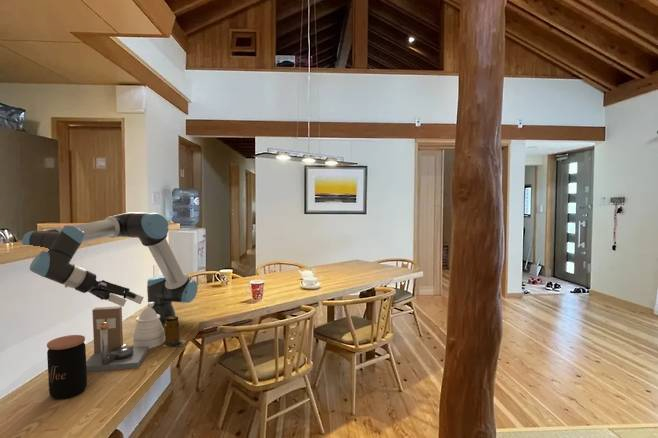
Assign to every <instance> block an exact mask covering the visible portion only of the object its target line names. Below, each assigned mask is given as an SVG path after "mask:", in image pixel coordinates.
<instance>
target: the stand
mask: <svg viewBox="0 0 658 438" xmlns="http://www.w3.org/2000/svg"><path fill="white" fill-rule="evenodd" d="M122 307H123V306H120V305H118V306H117V305H116V306H104V307H94V308H93V309H92V331H93V333H92V334H93V354H92V355H90V357H89V358H88V359H86V369H87V373H88V372H89V373H90V372H102V371H112V370H124V369H125V370H126V369H137V368H140V366H141V364H142V362H143V361H144V359H145V358H146V356H147V354H148V353H149V351H150V350H149V349H150V348H149V346H144V347H133V355H132V356H130V357H128V358H125V359H120V360H112V361H110V362H109V364H107V365H102V364H101V340H100V329H99V325H100V323H102V322H106V323H108V328H107V332H108V356H109V355H111V350H112V349H113V348H116V347H119V346H123V344H124V336H123V335H124V334H123V309H122Z"/></svg>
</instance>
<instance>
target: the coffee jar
mask: <svg viewBox="0 0 658 438" xmlns="http://www.w3.org/2000/svg"><path fill="white" fill-rule="evenodd" d="M85 341H86V337H85V335H81V334H71V335H70V334H69V335H65V336H59V337H56V338H53V339H51V340H50V341H48V342H47V344H46V348H47V351H46V353H47V354H46V356H47V358H46V359H47V376H48V392H49V393H48V394H49V395H50V397H51V398H52V399H54V400H58V401H61V400H68V399H71V398H74V397H77V396H79V395H81V394H82V393H83V392H85V390H86V388H87V386H88V375H87V374H88V372H87V369H86V361H87V354H86V353H87V350H86V349H87V348H86V343H85Z"/></svg>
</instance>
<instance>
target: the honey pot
mask: <svg viewBox="0 0 658 438" xmlns="http://www.w3.org/2000/svg"><path fill="white" fill-rule="evenodd" d="M148 305H149V307H148ZM153 305H154V302H149V303H148V302H147V306H146V307H144V308H143V309H142V311H140V313H139V315H138V316H137V317H136V318H135V321H136V323H135V325H134V330H133V332H132V346H133V347H144V346H149V349H151V348H152V347H153V348H157V347H158V345H159V346H161V345H163V344H164V343H165V327H163V323H161V322H160V320H159V318H160V315H159V314H156V312H155V311H154V309H153V308H151V307H153ZM163 342H164V343H163ZM162 343H163V344H162ZM156 346H157V347H156Z"/></svg>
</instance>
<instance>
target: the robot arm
mask: <svg viewBox="0 0 658 438" xmlns="http://www.w3.org/2000/svg"><path fill="white" fill-rule="evenodd" d="M168 233H169V222H168V220H167V218H166V217H165V216H164V215H163V214H161V213H157V212H153V211H152V212H151V211H150V212H137V211H136V212H135V211H132V212H126V213H120V214H116V215H113V216H112V215H111V216H107V217H105V218H104V219H103V220H96V221H91V222H85V223H80V224H74V225H64V226H62V227H59V228H58V227H57V228H53V229H47V230H40V231H39V230H32V231H28V232H26V233H25V234H24V235H23V236H22V239H21V244H22V246H23V245H33V246H40V247H45V248H48V249H49V251H48V252H44V251H42V252H39V253H40V254H39V253H38V254H39V255H38V254H37V255H38V256H37V255H36V256H35V257H34V258H33V259H32V261H31V263H30V265H29V270H30V271H31V272H32V273H34V274H36V275H38V276H40V277H42V278H46V279H48V280H51V281H53V282H55V283H58V284H61V285H64V288H67V289H68V288H71V289H74V290H75V291H78V292H80V293H83V294H86V293H89V294H91V295H93V296H94V297H96V298H98V299H100V300H105V301H109V302H111V303H113V304H116V305H118V306H122V307H124V306H125V305H126V302H127V300H129V301H132V302H134V303H137V304H138V305H141V304H142V302H143V300H144V296H141V295H140V294H137V293H135V292H133V291H130V288H128V287H126V286H121V285H120V284H119V285H118V284H115V283H111V282H109V281H106V280H105V279H103V280H102V279H101V280H97V275H96V274H95V273H94V272H91V271H89V270H86V269H85V268H83V267H81V266H78V265H75V264H73V263H71V262H72V259H73V257H74V256H75V254H76V252H77V251H78V249H79V248H80V246H81V245H82V243H85V242H86V243H87V242H91V241H94V240H100V239H103V238H107V237H108V238H110V239H114V238H122V237H123V238H124V237H125V238H134V239H135V238H138V239H139V241H140V242H141V244H142V245H143V246H144V247H147V248H148V250H149V252H150V253H151V255H152V257H153V259H154V262H155V263H156V264H157V267H158V268H159V271H160V272H161V274H162V275H158V276H157V275H156V276H153V277H150V278H148V279H147V282H146V283H147V284H146V292H147V307H149V305H148V303H149V302H154V305H153V307H151V308H153V309H154V311H155V312H156V314H159V315H160V318H159V320H160V322H161V323H162V324H166V318H167V317H169V316H177V314H176V311H175V308H174V305H173V303H181V304H189V303H192V302H193V301H194V300H195V298H196V296H197V293H198V289H199V288H198V283H197V281H196V280H194V279H190V277H189V276H188V274H187V273H186V272H183V270H182V268H181V266H180V264H179V262H178V260H177V258H176V256H175V254H174V253H173V251H172V248H171V246H170V244H169V242H168V240H167V237H168ZM120 296H121V297H120Z"/></svg>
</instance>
